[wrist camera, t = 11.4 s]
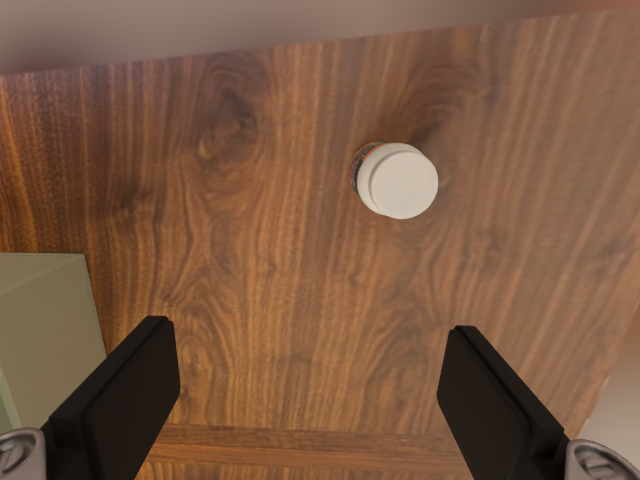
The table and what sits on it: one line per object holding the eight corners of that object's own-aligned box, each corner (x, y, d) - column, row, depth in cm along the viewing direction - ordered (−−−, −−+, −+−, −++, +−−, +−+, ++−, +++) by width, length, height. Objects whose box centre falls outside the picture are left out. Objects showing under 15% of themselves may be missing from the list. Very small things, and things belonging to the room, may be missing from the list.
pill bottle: (362, 131, 29) (386, 127, 20) (415, 155, 30) (462, 162, 21) (338, 187, 31) (349, 207, 21) (389, 208, 32) (421, 237, 22)
